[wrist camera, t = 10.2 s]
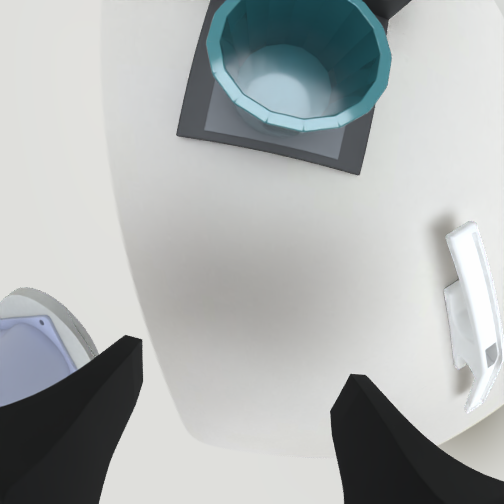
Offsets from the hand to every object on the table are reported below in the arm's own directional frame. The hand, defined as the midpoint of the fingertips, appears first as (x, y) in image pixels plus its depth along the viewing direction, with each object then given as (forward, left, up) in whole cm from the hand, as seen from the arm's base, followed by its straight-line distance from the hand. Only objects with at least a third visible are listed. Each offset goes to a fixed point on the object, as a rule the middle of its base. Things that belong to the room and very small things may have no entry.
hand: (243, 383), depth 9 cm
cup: (+4, +10, -8) cm, 13 cm away
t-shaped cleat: (+17, -8, -10) cm, 21 cm away
